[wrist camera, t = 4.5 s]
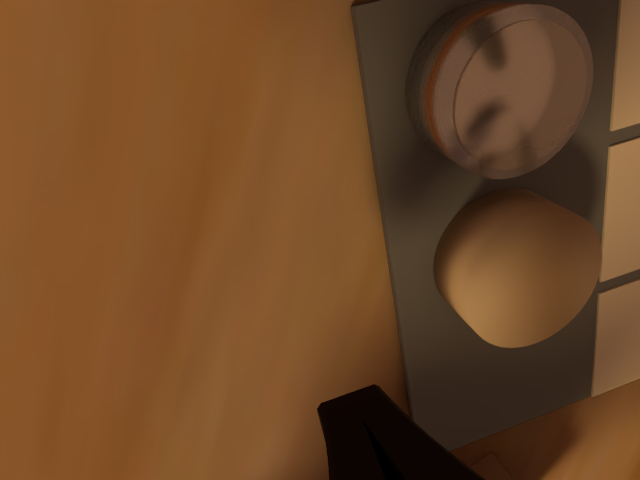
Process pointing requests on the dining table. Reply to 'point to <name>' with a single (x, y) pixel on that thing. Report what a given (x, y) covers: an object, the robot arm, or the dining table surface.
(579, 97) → the tealight tin
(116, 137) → the dining table surface
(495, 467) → the walnut block
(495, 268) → the beech disc
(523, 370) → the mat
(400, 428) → the robot arm
